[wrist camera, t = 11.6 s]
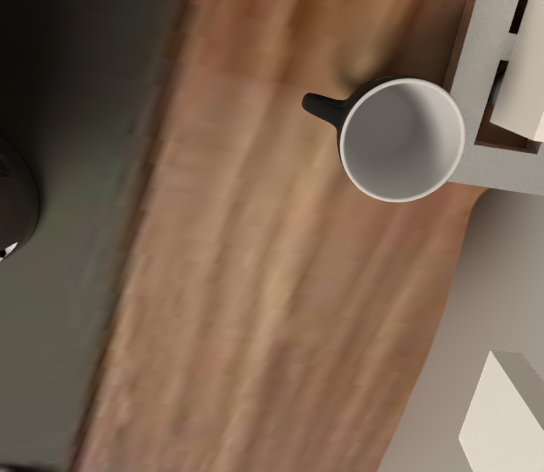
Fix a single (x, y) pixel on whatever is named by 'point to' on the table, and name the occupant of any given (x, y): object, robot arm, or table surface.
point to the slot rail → (474, 94)
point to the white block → (523, 79)
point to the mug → (395, 135)
